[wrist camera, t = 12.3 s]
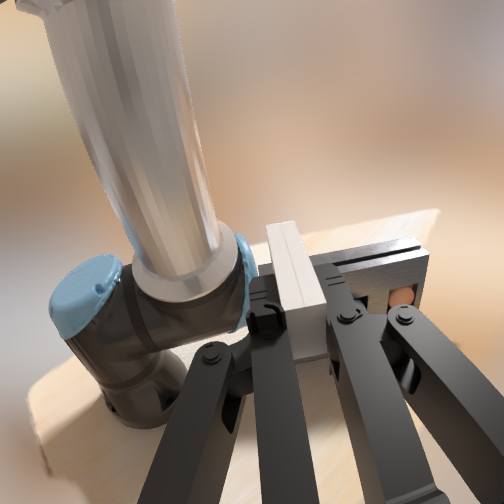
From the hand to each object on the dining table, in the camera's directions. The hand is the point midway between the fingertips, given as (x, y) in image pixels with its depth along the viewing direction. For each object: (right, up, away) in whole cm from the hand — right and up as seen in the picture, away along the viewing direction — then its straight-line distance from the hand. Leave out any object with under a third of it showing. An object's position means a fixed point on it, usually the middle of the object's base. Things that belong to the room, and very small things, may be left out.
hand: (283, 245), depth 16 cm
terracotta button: (+20, -8, +25) cm, 33 cm away
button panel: (+13, -15, +30) cm, 36 cm away
